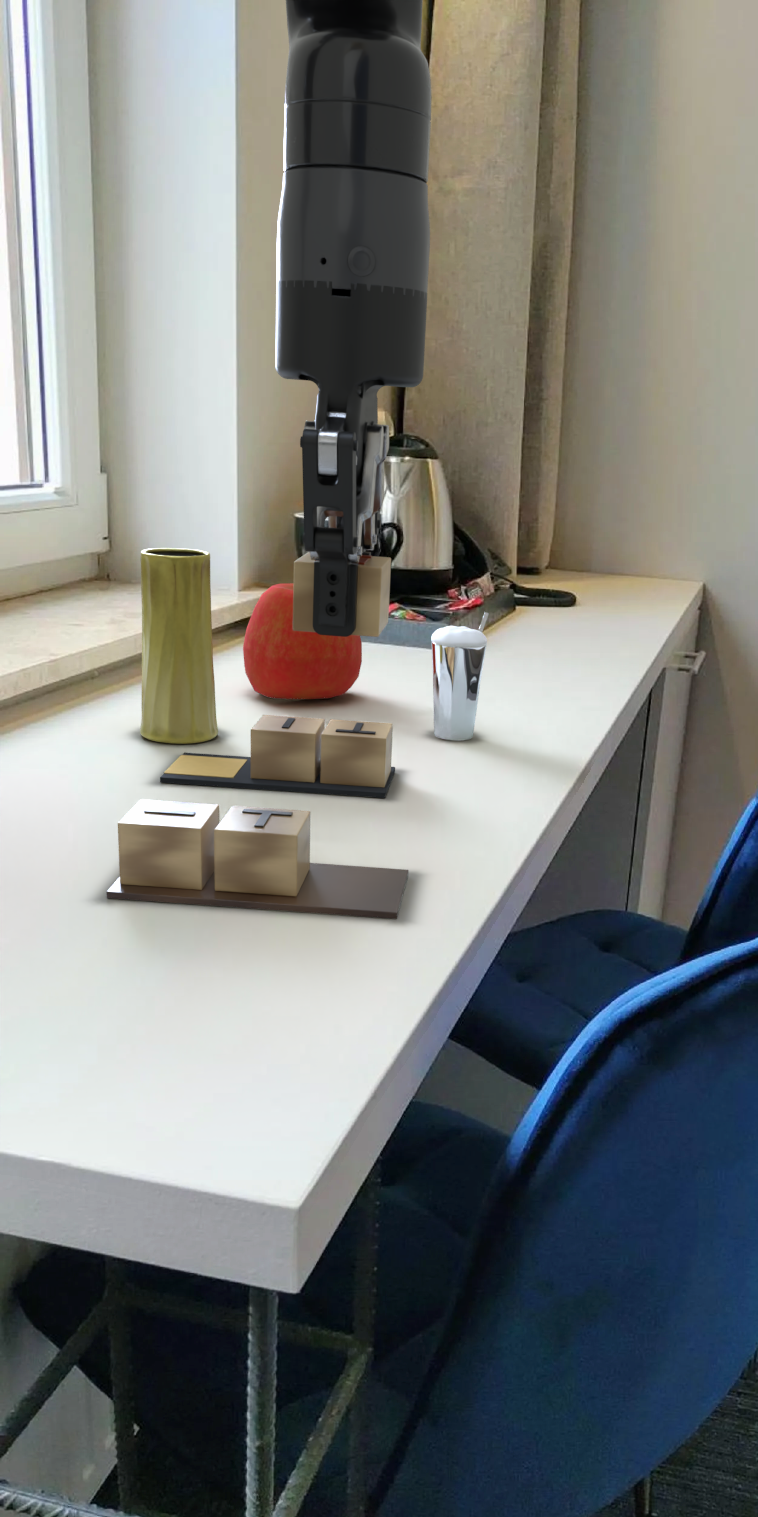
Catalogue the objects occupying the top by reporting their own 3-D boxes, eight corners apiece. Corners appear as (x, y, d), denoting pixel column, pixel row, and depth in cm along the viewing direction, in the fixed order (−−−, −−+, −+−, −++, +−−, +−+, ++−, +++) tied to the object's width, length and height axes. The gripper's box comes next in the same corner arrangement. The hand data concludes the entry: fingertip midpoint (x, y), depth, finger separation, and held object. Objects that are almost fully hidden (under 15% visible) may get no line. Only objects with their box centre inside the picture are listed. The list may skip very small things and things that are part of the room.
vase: (141, 725, 109) (135, 546, 104) (217, 726, 110) (215, 548, 105) (138, 744, 103) (132, 555, 98) (219, 745, 104) (217, 558, 99)
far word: (159, 782, 94) (158, 725, 92) (184, 757, 100) (183, 703, 99) (385, 798, 93) (387, 741, 92) (395, 772, 100) (397, 718, 98)
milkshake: (498, 737, 112) (507, 617, 108) (453, 745, 108) (460, 622, 105) (460, 725, 115) (467, 608, 111) (415, 734, 111) (420, 613, 107)
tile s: (292, 630, 70) (293, 559, 69) (306, 617, 75) (308, 549, 73) (378, 637, 70) (381, 565, 69) (388, 623, 74) (391, 555, 73)
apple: (301, 715, 115) (302, 590, 111) (216, 693, 121) (215, 574, 117) (384, 698, 123) (388, 581, 119) (300, 678, 129) (302, 566, 125)
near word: (106, 898, 73) (103, 827, 71) (141, 856, 79) (139, 790, 78) (397, 919, 72) (400, 848, 71) (408, 875, 79) (411, 809, 77)
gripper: (302, 287, 73) (296, 602, 79) (247, 263, 60) (245, 644, 66) (438, 296, 73) (421, 612, 79) (414, 274, 59) (395, 656, 66)
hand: (341, 625), depth 72 cm, fingers closed on tile s, 4 cm apart
